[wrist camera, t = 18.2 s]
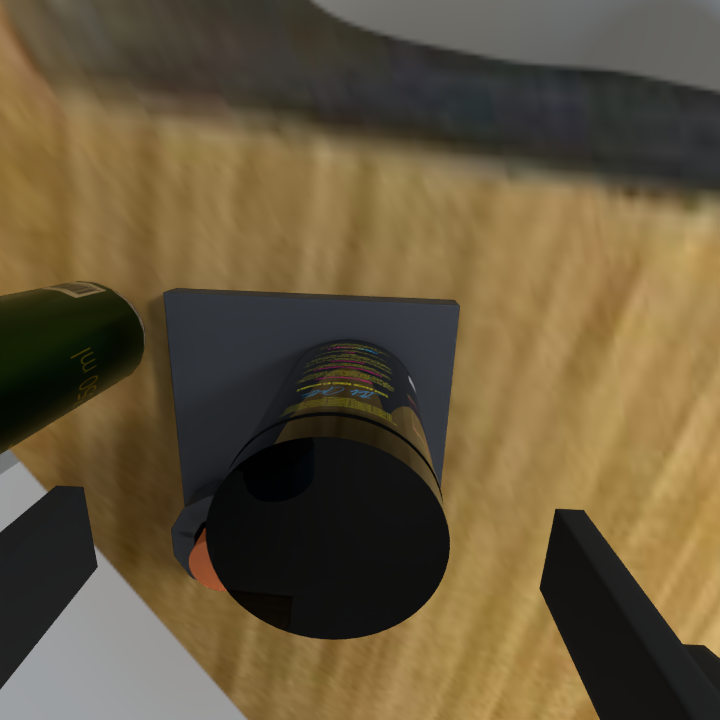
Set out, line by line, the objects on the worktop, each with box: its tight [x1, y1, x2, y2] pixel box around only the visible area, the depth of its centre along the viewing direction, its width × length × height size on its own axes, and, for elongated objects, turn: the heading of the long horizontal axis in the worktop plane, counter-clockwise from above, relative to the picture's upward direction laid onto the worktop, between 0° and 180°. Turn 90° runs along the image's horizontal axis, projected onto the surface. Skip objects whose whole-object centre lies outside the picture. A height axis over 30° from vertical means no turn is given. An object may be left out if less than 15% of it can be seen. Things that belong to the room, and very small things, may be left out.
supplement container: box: [206, 339, 450, 640], centre depth 17 cm, size 7×7×10 cm
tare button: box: [189, 527, 227, 591], centre depth 22 cm, size 3×3×2 cm
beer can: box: [0, 281, 146, 454], centre depth 17 cm, size 5×5×12 cm
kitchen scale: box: [164, 288, 460, 581], centre depth 23 cm, size 14×16×3 cm
